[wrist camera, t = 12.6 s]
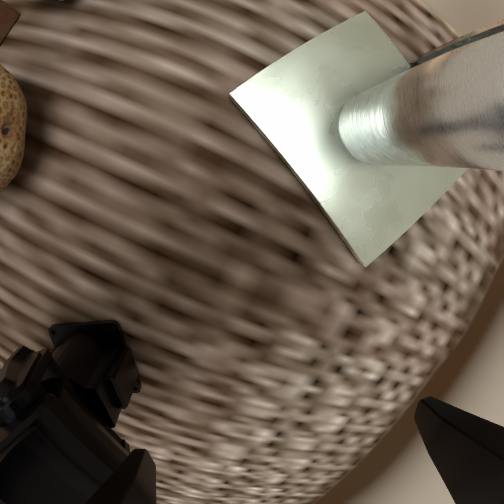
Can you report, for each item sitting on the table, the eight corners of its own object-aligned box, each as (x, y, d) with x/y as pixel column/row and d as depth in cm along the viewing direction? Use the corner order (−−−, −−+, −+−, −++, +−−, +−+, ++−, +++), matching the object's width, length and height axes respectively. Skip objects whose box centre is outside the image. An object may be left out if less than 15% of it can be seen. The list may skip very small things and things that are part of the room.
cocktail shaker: (365, 179, 18) (571, 214, 4) (324, 114, 17) (513, 33, 3) (414, 143, 18) (601, 143, 4) (377, 82, 16) (553, 13, 3)
